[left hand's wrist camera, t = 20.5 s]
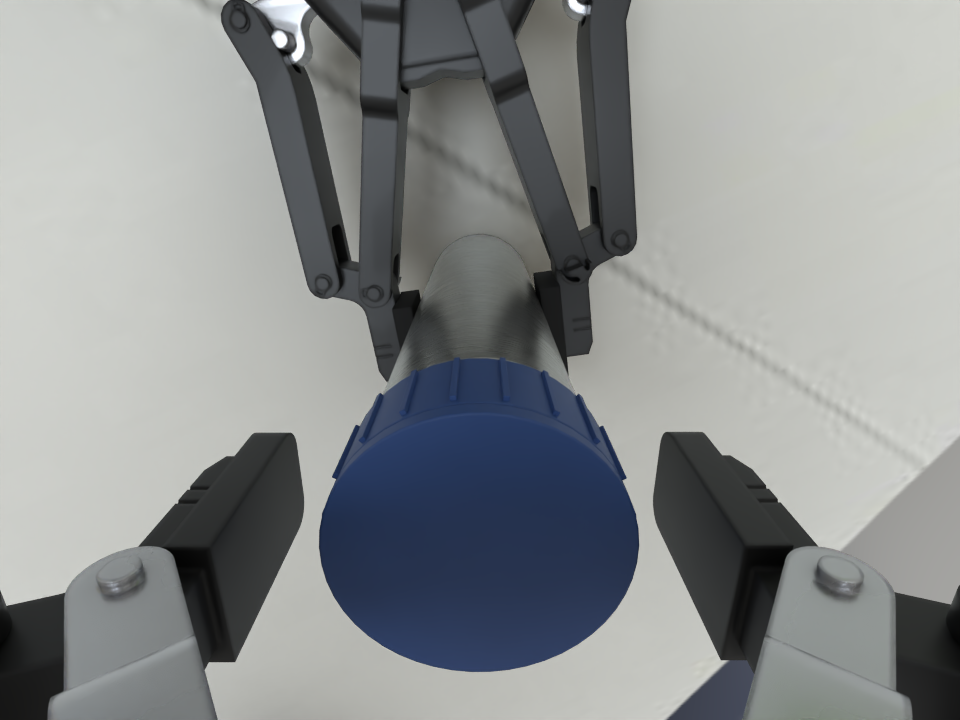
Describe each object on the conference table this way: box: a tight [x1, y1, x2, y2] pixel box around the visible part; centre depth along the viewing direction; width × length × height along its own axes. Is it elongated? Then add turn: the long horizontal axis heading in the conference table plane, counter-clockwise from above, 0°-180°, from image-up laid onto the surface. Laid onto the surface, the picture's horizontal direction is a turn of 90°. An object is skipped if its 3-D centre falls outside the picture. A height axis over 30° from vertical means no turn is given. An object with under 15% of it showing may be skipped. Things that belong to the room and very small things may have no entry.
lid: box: [319, 357, 639, 672], centre depth 10 cm, size 5×5×2 cm
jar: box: [383, 234, 576, 395], centre depth 19 cm, size 5×5×19 cm
